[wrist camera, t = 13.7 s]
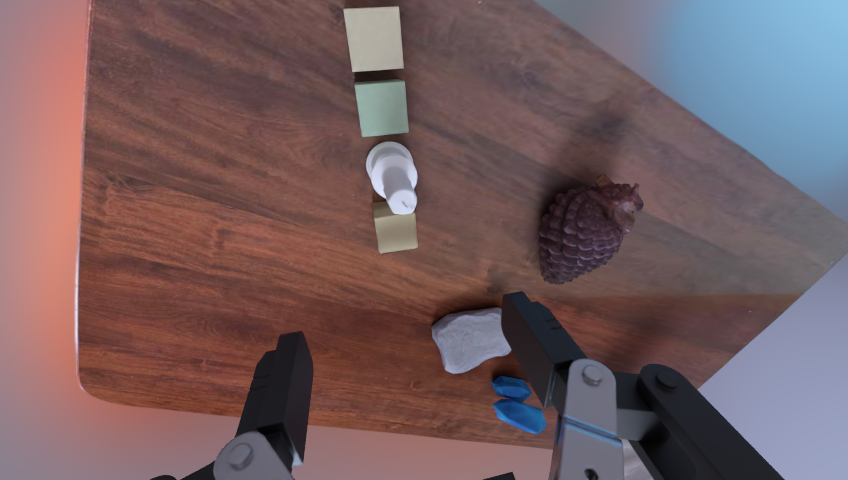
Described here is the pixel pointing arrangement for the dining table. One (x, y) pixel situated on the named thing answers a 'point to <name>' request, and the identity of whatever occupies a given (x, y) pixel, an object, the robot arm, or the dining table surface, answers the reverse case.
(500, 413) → the crystal
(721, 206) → the dining table surface
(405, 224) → the block
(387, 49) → the block
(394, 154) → the candle
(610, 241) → the pine cone
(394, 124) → the block
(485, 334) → the stone block
